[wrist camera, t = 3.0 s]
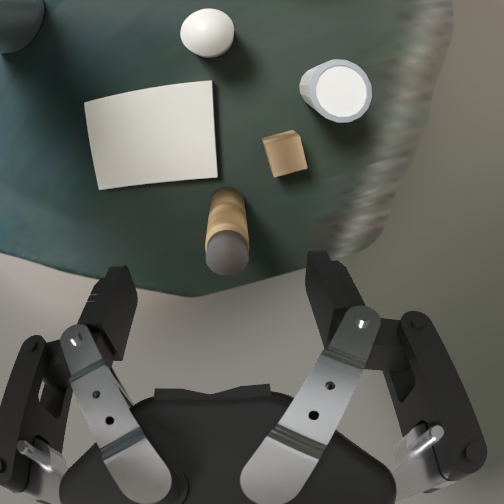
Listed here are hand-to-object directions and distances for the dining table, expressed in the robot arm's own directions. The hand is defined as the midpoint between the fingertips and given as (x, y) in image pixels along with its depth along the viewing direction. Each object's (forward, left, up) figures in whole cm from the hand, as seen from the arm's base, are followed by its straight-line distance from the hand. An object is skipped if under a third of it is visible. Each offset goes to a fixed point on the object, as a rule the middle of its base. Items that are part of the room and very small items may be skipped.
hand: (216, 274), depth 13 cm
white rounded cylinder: (-1, +14, -26) cm, 29 cm away
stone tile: (-9, +2, -26) cm, 27 cm away
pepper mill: (0, -8, -26) cm, 27 cm away
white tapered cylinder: (+12, +7, -26) cm, 29 cm away
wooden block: (+7, -1, -26) cm, 27 cm away
